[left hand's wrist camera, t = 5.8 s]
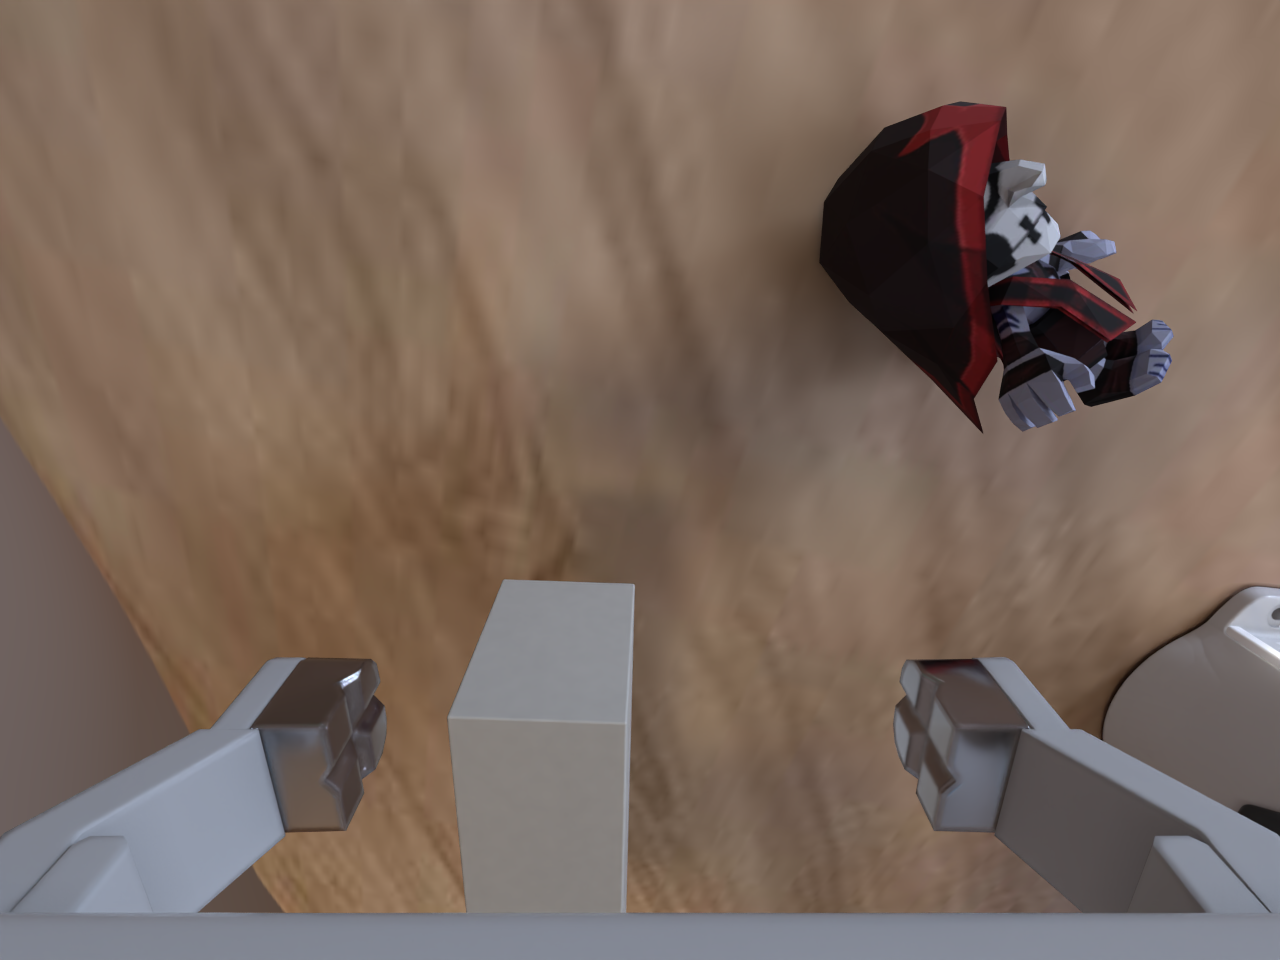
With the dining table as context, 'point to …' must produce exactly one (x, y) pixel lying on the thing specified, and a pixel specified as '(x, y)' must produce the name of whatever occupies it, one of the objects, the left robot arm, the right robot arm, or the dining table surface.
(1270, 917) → the left robot arm
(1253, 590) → the right robot arm
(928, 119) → the toy
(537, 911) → the bar
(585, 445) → the dining table surface
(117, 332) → the dining table surface
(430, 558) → the dining table surface
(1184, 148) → the dining table surface
